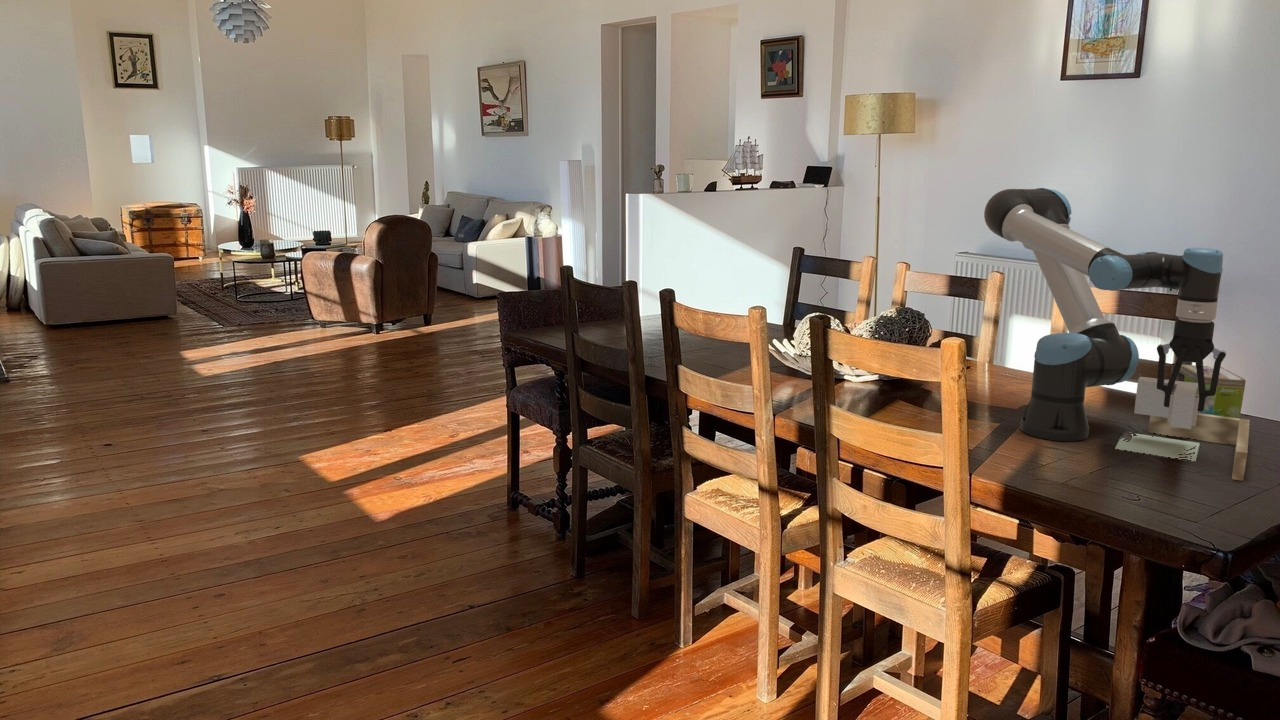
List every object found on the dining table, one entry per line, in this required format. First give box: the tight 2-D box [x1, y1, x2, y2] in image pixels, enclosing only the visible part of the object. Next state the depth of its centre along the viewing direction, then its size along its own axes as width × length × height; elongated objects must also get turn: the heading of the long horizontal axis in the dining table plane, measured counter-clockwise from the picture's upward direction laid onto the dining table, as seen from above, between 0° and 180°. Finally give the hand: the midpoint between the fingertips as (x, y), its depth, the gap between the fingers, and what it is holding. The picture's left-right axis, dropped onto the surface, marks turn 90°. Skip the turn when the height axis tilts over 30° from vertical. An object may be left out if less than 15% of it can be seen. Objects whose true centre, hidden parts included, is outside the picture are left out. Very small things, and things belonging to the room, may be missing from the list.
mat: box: [1114, 433, 1200, 463], centre depth 222 cm, size 16×16×1 cm
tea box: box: [1177, 364, 1247, 419], centre depth 234 cm, size 15×10×15 cm, turn 168°
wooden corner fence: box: [1147, 413, 1251, 482], centre depth 216 cm, size 20×30×6 cm, turn 148°
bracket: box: [1133, 376, 1198, 429], centre depth 219 cm, size 12×12×8 cm
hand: (1181, 423), depth 215 cm, fingers closed on bracket, 4 cm apart
